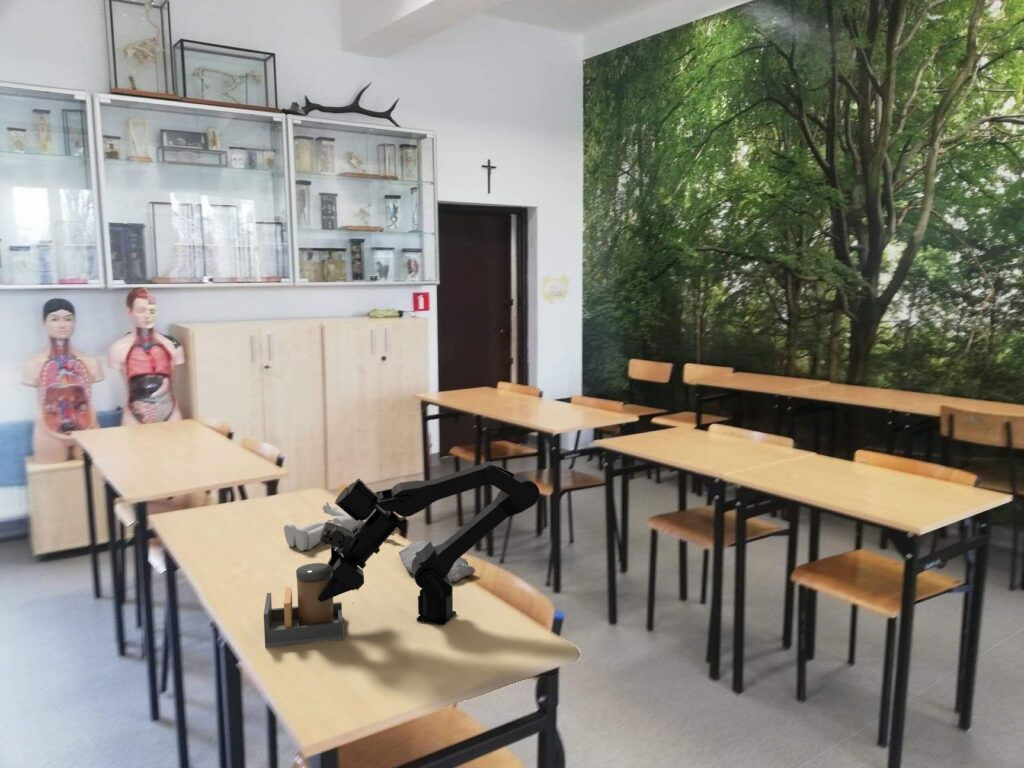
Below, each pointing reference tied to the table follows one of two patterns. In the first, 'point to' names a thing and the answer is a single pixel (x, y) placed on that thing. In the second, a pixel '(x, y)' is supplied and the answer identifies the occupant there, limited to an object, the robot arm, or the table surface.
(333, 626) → the tray
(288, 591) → the block
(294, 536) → the toy
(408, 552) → the stone
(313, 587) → the jar
